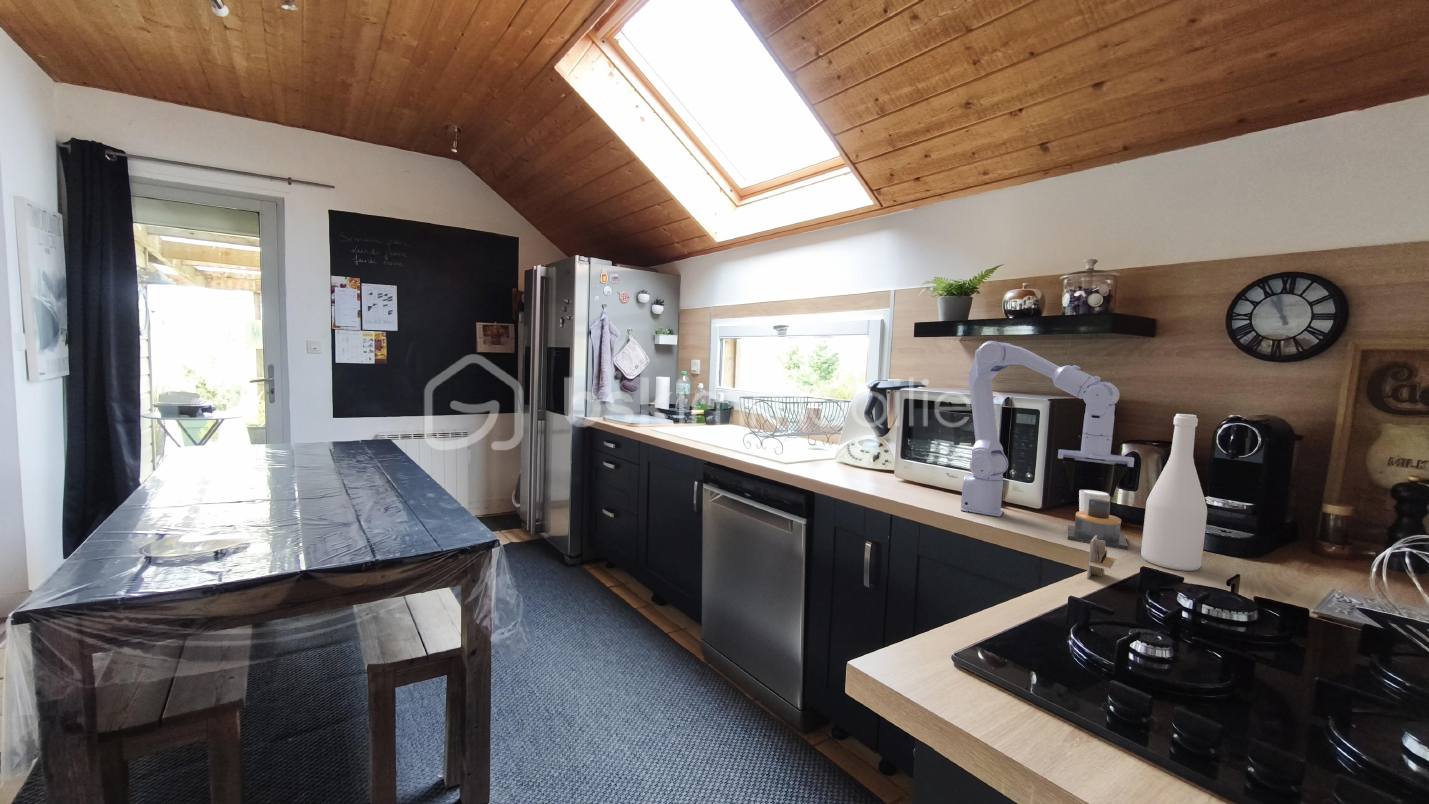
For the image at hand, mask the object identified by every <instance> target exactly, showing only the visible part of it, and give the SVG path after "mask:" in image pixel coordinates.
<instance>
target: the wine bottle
mask: <svg viewBox="0 0 1429 804" xmlns="http://www.w3.org/2000/svg"><path fill="white" fill-rule="evenodd" d="M1197 417H1198V416H1197V415H1196V414H1188V413H1187V414H1186V413H1176V414H1175V416H1174V417H1173V425H1174V429H1173V436H1172V441H1171V442H1172V444H1171V450H1170V455H1169V457H1168V460H1167V462H1166V464H1165V465H1164V467H1163V470H1162V471H1161V473H1160V475H1159V476H1158V479H1157V480H1156V482H1155V483H1154V485H1153V487H1152V489H1151V491H1150V493H1149V495H1148V497H1147V499H1146V502H1145V511H1144V513H1145V514H1144V521H1143V522H1144V523H1143V530H1142V540H1141V549H1140V550H1141V551H1140V554H1141V557H1142V559H1144V560H1145V561H1146V562H1148V563H1150V564H1153V565H1156V566H1159V567H1161V568H1167V569H1171V570H1175V571H1176V570H1177V571H1183V572H1184V571H1186V572H1187V571H1188V572H1189V571H1190V572H1192V571H1197V570H1199V568H1200V567H1201V565H1202V562H1203V561H1202V560H1203V553H1204V551H1203V550H1204V543H1205V537H1206V536H1205V535H1206V527H1207V516H1208V507H1207V503H1206V500H1205V495H1204V493H1203V489H1202V486H1201V482H1200V478H1199V475H1198V472H1197V468H1196V465H1195V458H1194V450H1195V449H1194V448H1195V437H1196V436H1195V435H1196V427H1198V422H1199V418H1197Z"/></svg>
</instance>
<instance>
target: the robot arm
mask: <svg viewBox="0 0 1429 804" xmlns="http://www.w3.org/2000/svg"><path fill="white" fill-rule="evenodd" d="M1011 365H1022V366H1024V367H1026V368H1028V369H1030V370H1033V371H1035V372H1036V373H1039V374H1042V375H1043V376H1046V377H1048V378H1050V379H1052V382H1053V386H1054V387H1055V388H1058V389H1060V390H1061V391H1064V392H1066V393H1068V394H1069V395H1072V396H1074V397H1076V398H1078V399H1081V400H1082V399H1083V400H1082V401H1084V403H1085V404H1086V405H1085V411H1084V412H1085V413H1084V416H1083V417H1084V418H1083V427H1082V433H1081V434H1082V435H1081V436H1082V437H1081V444H1080V450H1070V449H1069V450H1068V449H1058V450H1057V452H1058V453H1057V459H1062V463H1063V466H1064V468H1065V471H1066V474H1067V478H1068V483H1069V491H1070V492H1074V489H1075V486H1074V485H1075V481H1074V480H1075V479H1074V478H1075V470H1076V461H1083V462H1091V463H1093V462H1094V463H1100V464H1107V465H1112V471H1111V481H1110V487H1109V492H1108V494H1109V496H1110V498H1114V495H1115V491H1116V489H1117V487H1118V485H1119V484H1120V481H1121V480H1122V478H1123V477H1124V475H1125V474H1126V473H1127V471H1128V467H1129V468H1134V465H1135V458H1134V457H1131V456H1126V455H1125V456H1123V455H1119V454H1118V455H1116V454H1112V453H1111V451H1112V444H1113V436H1114V435H1113V434H1114V426H1115V425H1114V423H1115V411H1116V404H1117V402H1118V401H1119V400H1120V391H1119V389H1118V387H1117V386H1115V385H1114V384H1113V383H1112V382H1110V381H1101V378H1102V377H1100V376H1098V375H1095V376H1093V375H1090V374H1089V373H1087V372H1085V371H1083V370H1081V367H1080V366H1078V365H1075V364H1074V365H1070V364H1068V365H1067V364H1066V365H1064V366H1058V365H1057V364H1055V363H1053V362H1052V361H1049V360H1047V359H1045V358H1044V357H1041V356H1039V355H1038V354H1036V353H1034V352H1033V351H1030V350H1028V349H1026V348H1024V347H1021V346H1017V345H1013V344H1012V343H1010V342H1000V341H999V342H998V341H995V340H988V341H986V342H984V343H983V344H981V345H980V346H979V347H978V348H977V349H976V350H975V351H974V359H973V360H972V364H971V366H970V368H969V372H968V377H967V378H968V386H969V394H970V404H971V412H972V420H973V421H972V422H973V429H974V438H975V441H974V442H975V443H974V444H973V446H972V448H971V457H970V461H969V469H970V471H971V474H972V475H966V474H965V475H964V477H963V481H962V491H961V497H960V511H963V512H968V511H969V513H976V514H981V515H987V516H994V517H999V518H1000V517H1001V516H1002V514H1003V512H1004V509H1003V508H1002V507H1001V506H1002V498H1003V486H1004V476H1003V475H1004V473H1005V472H1006V471H1007V470H1008V468H1009V460H1008V458H1007V456H1006V455H1005V452H1004V447H1003V446H1002V444H1001V442H1000V441H999V439H998V438H999V437H998V429H997V428H998V427H997V421H996V411H995V401H994V393H993V383H992V380H993V379H994V378H995V377H996V375H998V374H999V373H1000V371H1002V370H1005V369H1006V368H1008V367H1010V366H1011Z"/></svg>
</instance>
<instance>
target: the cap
mask: <svg viewBox="0 0 1429 804" xmlns="http://www.w3.org/2000/svg"><path fill="white" fill-rule="evenodd" d="M1110 511H1111V501H1105V500H1100V499H1089V507H1088V511H1076V512H1075V518H1076V517H1077V518H1078V519H1081V520H1084V521H1087V522H1091V523H1096V524H1103V525H1120V524H1121V523H1122V519H1121V518H1120V517H1118V516H1116V515H1111V514H1110Z"/></svg>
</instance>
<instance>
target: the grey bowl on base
mask: <svg viewBox="0 0 1429 804" xmlns="http://www.w3.org/2000/svg"><path fill="white" fill-rule="evenodd" d="M1074 521H1075V522H1074V525H1069V524H1067V540H1070V541H1075V540H1076V542H1081V541H1083V542H1082V543H1086V542H1087V544H1090V543H1091V540H1092V539H1093V538H1094V537H1095V536H1096V535H1097V540H1102V541H1105V547H1110V548H1117V549H1122V550H1127V551H1128V549H1129V544H1128V542H1127V540H1126V537H1125V535H1124V533H1121V526H1122V525H1121V524H1120V525H1103V524H1096V523H1091V522H1087V521H1084V520H1081V519H1078V518H1077V517H1076V516H1075V520H1074Z"/></svg>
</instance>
